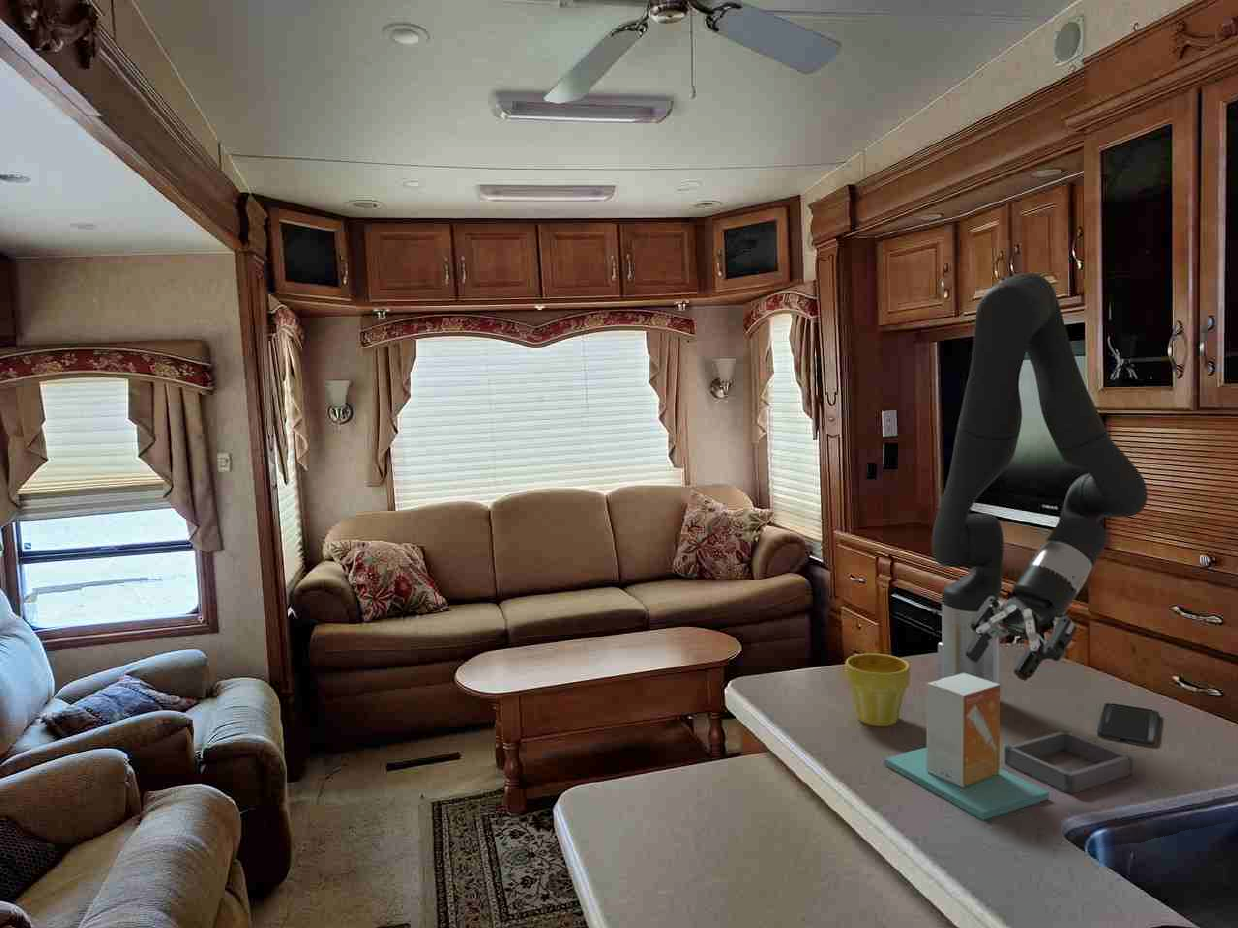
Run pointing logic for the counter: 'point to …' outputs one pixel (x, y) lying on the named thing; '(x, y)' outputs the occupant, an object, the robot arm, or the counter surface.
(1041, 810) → the counter surface
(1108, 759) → the tray frame
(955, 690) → the small box
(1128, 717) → the phone
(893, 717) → the plant pot
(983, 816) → the board
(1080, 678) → the counter surface
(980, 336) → the robot arm
